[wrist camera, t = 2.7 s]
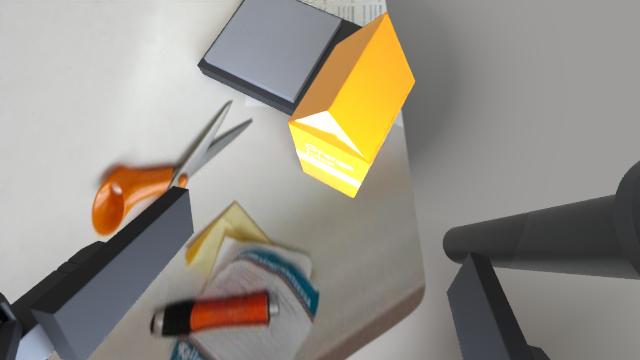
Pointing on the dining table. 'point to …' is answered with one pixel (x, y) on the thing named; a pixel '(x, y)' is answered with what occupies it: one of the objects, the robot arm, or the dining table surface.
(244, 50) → the scale
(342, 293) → the dining table surface
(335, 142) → the orange juice
